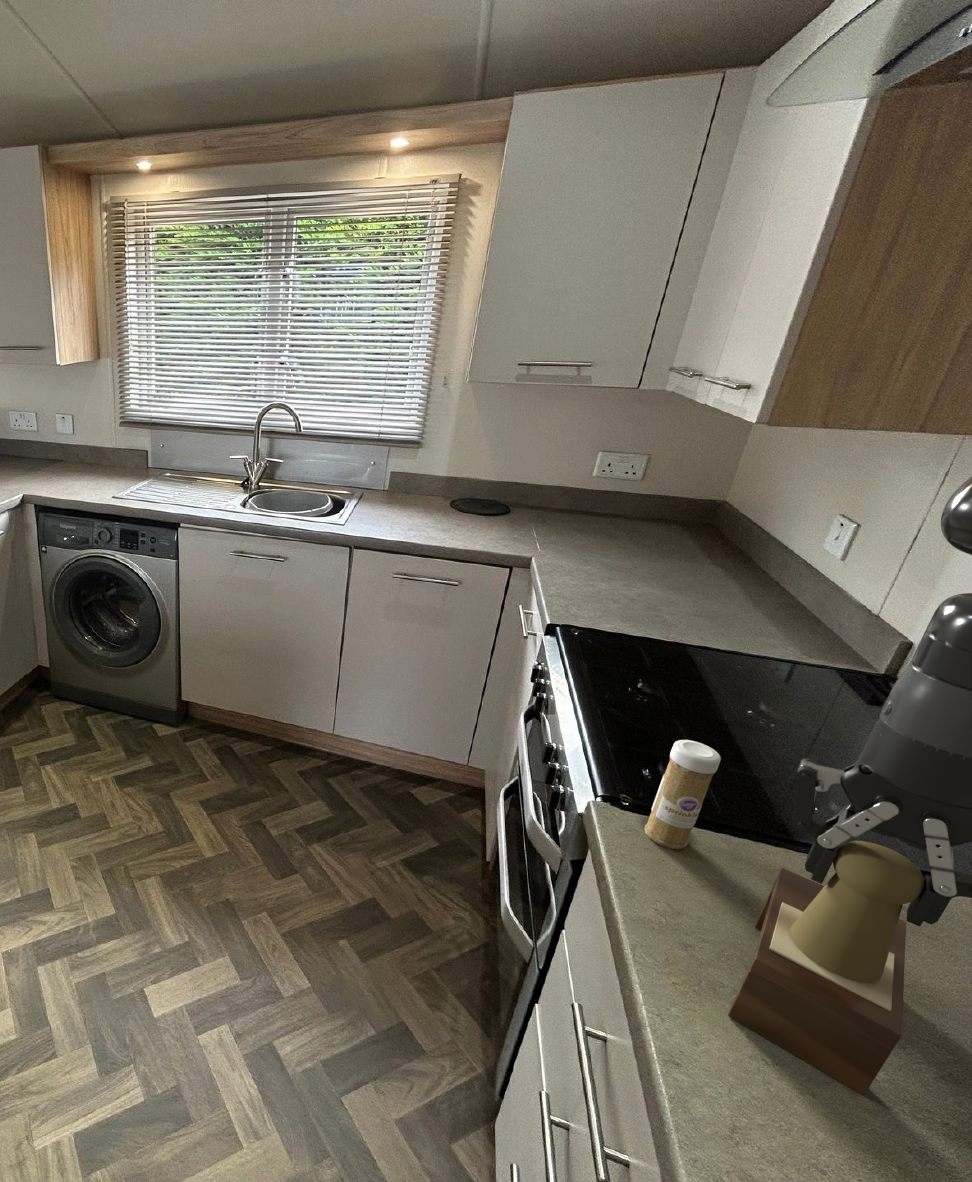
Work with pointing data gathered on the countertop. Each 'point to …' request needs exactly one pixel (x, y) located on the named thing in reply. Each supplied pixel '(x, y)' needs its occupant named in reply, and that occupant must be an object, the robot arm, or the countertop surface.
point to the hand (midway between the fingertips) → (863, 896)
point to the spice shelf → (819, 995)
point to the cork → (858, 910)
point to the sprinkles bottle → (681, 793)
